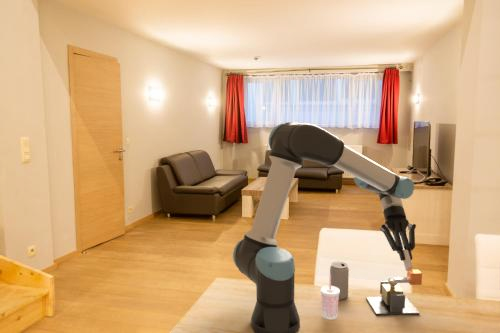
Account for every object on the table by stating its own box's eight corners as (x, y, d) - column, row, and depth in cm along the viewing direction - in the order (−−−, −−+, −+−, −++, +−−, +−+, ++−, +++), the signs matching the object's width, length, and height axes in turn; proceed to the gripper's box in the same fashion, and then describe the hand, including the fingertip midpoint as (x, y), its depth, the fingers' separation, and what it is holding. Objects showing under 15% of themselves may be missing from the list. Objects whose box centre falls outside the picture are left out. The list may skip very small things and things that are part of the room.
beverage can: (349, 300, 135) (350, 268, 133) (331, 300, 135) (332, 268, 133) (345, 292, 141) (346, 260, 139) (328, 292, 141) (328, 260, 139)
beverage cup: (323, 321, 121) (324, 279, 119) (317, 311, 127) (318, 271, 125) (342, 319, 122) (343, 278, 120) (335, 310, 128) (335, 270, 126)
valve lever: (390, 286, 127) (390, 273, 127) (386, 282, 130) (387, 270, 130) (421, 285, 127) (422, 273, 127) (417, 281, 130) (418, 269, 130)
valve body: (376, 315, 124) (377, 292, 123) (366, 299, 135) (366, 278, 134) (419, 315, 124) (420, 292, 123) (405, 298, 135) (406, 277, 134)
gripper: (406, 214, 150) (424, 272, 136) (373, 214, 150) (387, 273, 136) (413, 204, 144) (432, 264, 130) (378, 204, 144) (393, 265, 130)
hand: (409, 268), depth 133 cm, fingers closed
